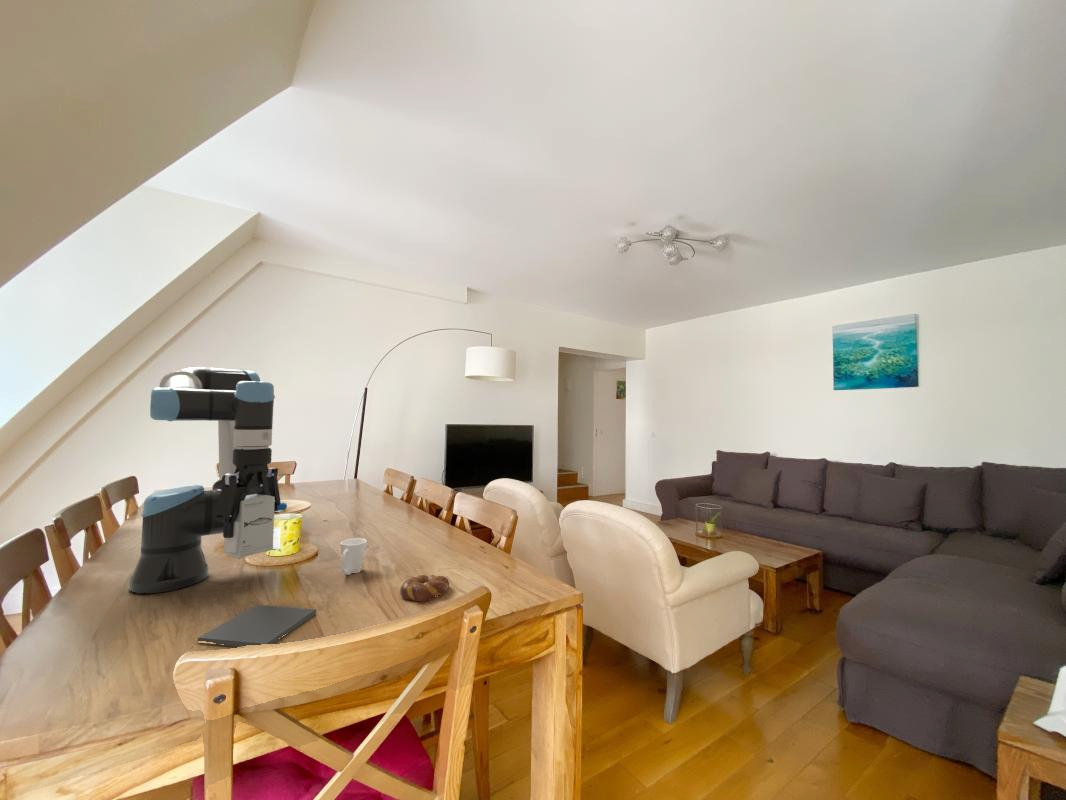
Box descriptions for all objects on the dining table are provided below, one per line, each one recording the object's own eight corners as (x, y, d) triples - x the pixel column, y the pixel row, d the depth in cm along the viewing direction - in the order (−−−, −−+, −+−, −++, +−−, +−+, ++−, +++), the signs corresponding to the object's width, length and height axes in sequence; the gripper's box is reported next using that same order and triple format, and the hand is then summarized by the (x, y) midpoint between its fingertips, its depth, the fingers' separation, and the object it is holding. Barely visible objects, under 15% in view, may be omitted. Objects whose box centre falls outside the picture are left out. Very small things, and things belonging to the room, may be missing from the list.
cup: (370, 566, 118) (371, 537, 119) (354, 580, 108) (355, 548, 109) (346, 566, 119) (347, 537, 119) (328, 580, 109) (329, 548, 109)
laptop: (197, 643, 78) (197, 637, 78) (256, 609, 92) (257, 604, 92) (265, 649, 76) (265, 643, 76) (315, 613, 90) (315, 609, 90)
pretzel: (440, 581, 110) (441, 567, 110) (457, 596, 100) (457, 580, 101) (393, 590, 103) (394, 575, 103) (406, 607, 94) (407, 590, 94)
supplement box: (238, 559, 92) (240, 501, 93) (223, 553, 96) (224, 497, 96) (274, 550, 99) (275, 496, 99) (257, 544, 102) (259, 492, 103)
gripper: (227, 452, 87) (222, 562, 86) (299, 444, 108) (296, 532, 108) (195, 451, 88) (190, 559, 87) (273, 443, 109) (269, 530, 109)
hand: (248, 544), depth 97 cm, fingers closed on supplement box, 9 cm apart
